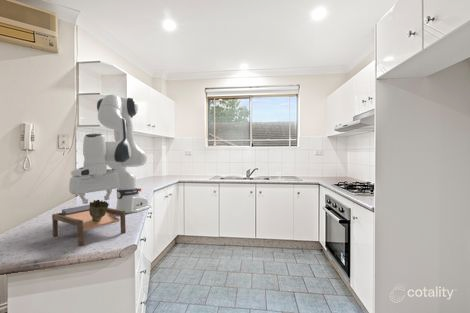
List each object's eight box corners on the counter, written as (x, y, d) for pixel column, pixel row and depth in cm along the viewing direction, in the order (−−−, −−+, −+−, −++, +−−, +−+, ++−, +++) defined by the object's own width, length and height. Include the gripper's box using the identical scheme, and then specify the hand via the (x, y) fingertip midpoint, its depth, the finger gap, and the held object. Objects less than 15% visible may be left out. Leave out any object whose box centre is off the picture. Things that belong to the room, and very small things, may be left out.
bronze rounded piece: (96, 225, 106) (100, 208, 104) (82, 220, 107) (85, 202, 106) (109, 219, 113) (112, 203, 112) (95, 214, 114) (98, 198, 113)
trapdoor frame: (97, 225, 129) (97, 205, 128) (125, 232, 116) (125, 210, 115) (52, 236, 112) (52, 214, 112) (79, 246, 99) (78, 221, 99)
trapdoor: (95, 208, 126) (95, 203, 125) (119, 222, 115) (119, 217, 114) (59, 215, 112) (59, 210, 112) (82, 232, 101) (83, 227, 101)
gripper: (113, 168, 120) (114, 197, 120) (66, 171, 103) (67, 205, 103) (121, 168, 117) (122, 198, 117) (74, 172, 99) (75, 206, 100)
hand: (96, 201), depth 110 cm, fingers open, 8 cm apart
